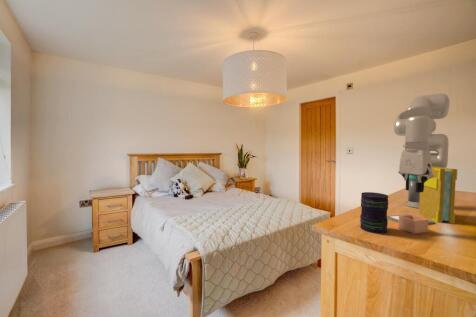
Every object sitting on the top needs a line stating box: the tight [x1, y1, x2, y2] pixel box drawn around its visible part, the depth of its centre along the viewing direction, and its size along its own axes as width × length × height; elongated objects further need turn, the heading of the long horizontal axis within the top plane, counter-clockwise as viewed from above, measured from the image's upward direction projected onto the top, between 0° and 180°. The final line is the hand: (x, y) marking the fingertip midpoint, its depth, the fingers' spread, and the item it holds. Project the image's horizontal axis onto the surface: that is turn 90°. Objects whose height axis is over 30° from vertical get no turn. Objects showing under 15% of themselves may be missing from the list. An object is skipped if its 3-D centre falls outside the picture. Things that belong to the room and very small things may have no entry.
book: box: [418, 166, 459, 225], centre depth 108 cm, size 17×7×25 cm, turn 168°
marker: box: [407, 174, 420, 202], centre depth 91 cm, size 4×4×12 cm
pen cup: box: [398, 214, 429, 235], centre depth 91 cm, size 7×7×6 cm
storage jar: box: [359, 191, 389, 235], centre depth 92 cm, size 10×10×15 cm
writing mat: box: [387, 213, 436, 225], centre depth 104 cm, size 15×12×1 cm
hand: (414, 190), depth 91 cm, fingers closed on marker, 3 cm apart
